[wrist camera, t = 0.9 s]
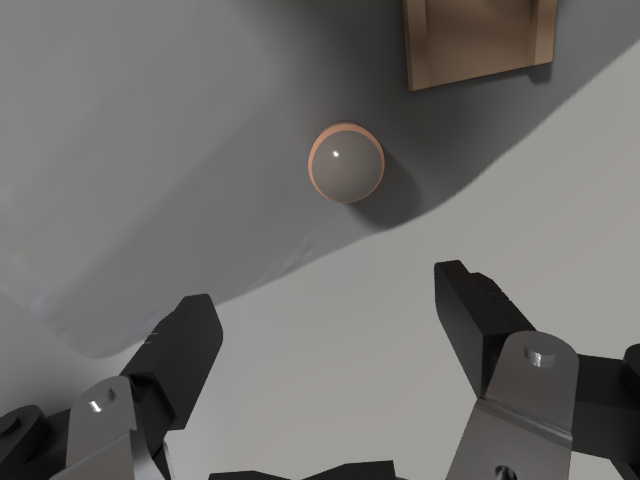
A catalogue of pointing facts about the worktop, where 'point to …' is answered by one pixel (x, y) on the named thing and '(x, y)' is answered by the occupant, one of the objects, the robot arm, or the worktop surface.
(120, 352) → the worktop surface
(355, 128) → the terracotta jar
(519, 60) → the lane
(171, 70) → the worktop surface
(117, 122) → the worktop surface
